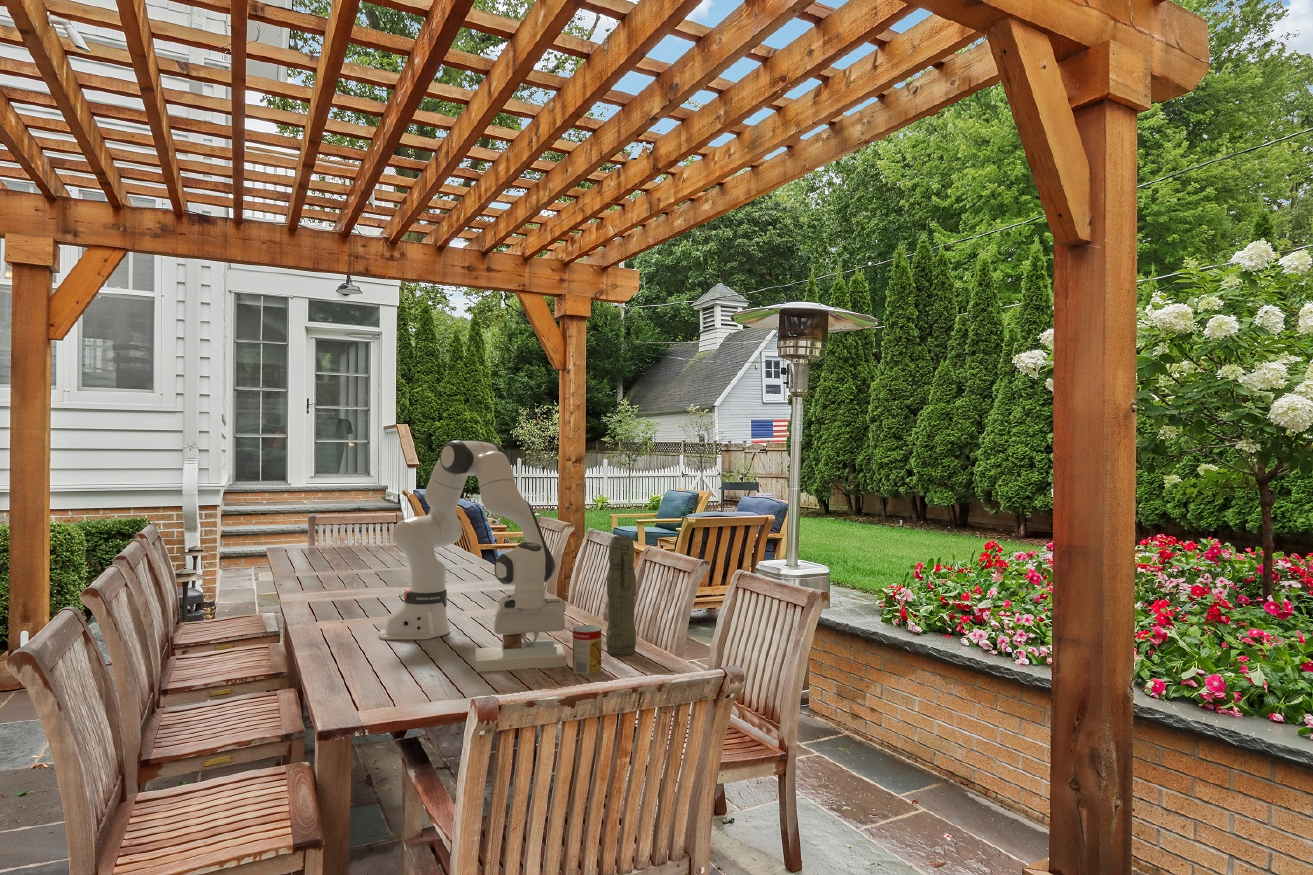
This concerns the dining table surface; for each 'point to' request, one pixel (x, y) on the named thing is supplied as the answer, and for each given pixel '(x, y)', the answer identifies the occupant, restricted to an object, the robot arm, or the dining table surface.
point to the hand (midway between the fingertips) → (529, 647)
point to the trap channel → (520, 657)
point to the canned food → (587, 650)
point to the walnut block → (512, 641)
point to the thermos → (621, 598)
